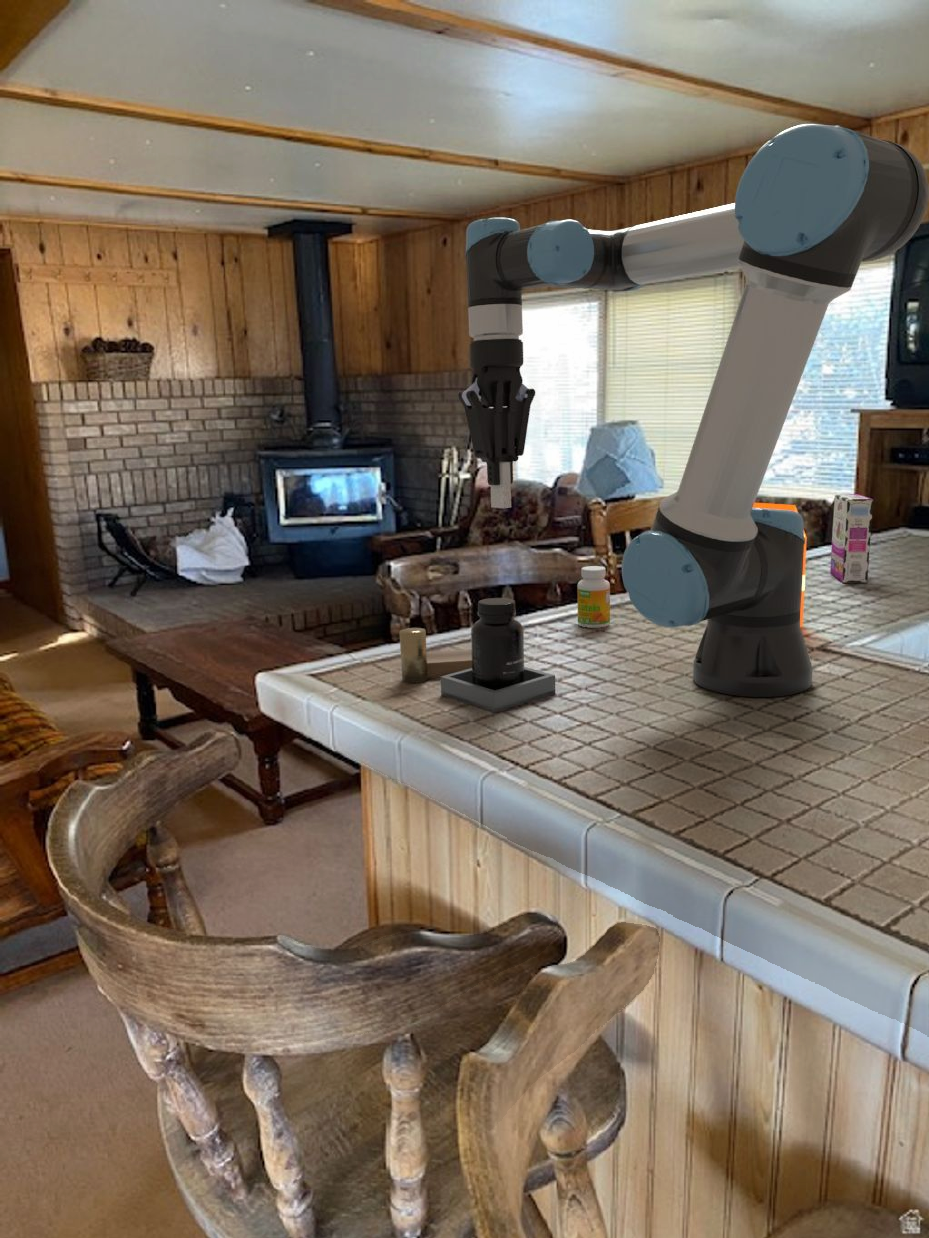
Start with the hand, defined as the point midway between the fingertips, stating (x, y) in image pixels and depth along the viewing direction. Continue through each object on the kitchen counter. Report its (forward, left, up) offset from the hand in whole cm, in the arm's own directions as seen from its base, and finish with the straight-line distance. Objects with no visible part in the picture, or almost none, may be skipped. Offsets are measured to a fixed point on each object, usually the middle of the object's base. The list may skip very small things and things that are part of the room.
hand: (501, 507), depth 138 cm
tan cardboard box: (0, +10, -23) cm, 25 cm away
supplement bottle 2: (+3, -23, -23) cm, 32 cm away
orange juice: (-19, -40, -23) cm, 50 cm away
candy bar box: (-9, -85, -23) cm, 88 cm away
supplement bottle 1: (-14, +14, -22) cm, 29 cm away
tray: (-13, +14, -22) cm, 29 cm away
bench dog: (0, +17, -22) cm, 28 cm away
